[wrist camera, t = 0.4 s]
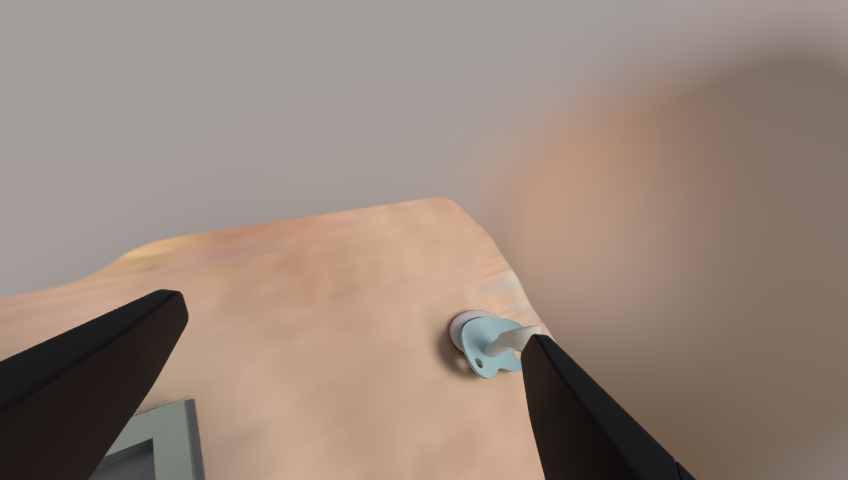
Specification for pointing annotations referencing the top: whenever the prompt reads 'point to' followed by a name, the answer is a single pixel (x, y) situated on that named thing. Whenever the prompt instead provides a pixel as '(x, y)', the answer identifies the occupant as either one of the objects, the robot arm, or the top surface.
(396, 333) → the top surface
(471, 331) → the pacifier
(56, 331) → the top surface
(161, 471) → the green square tray
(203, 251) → the top surface
